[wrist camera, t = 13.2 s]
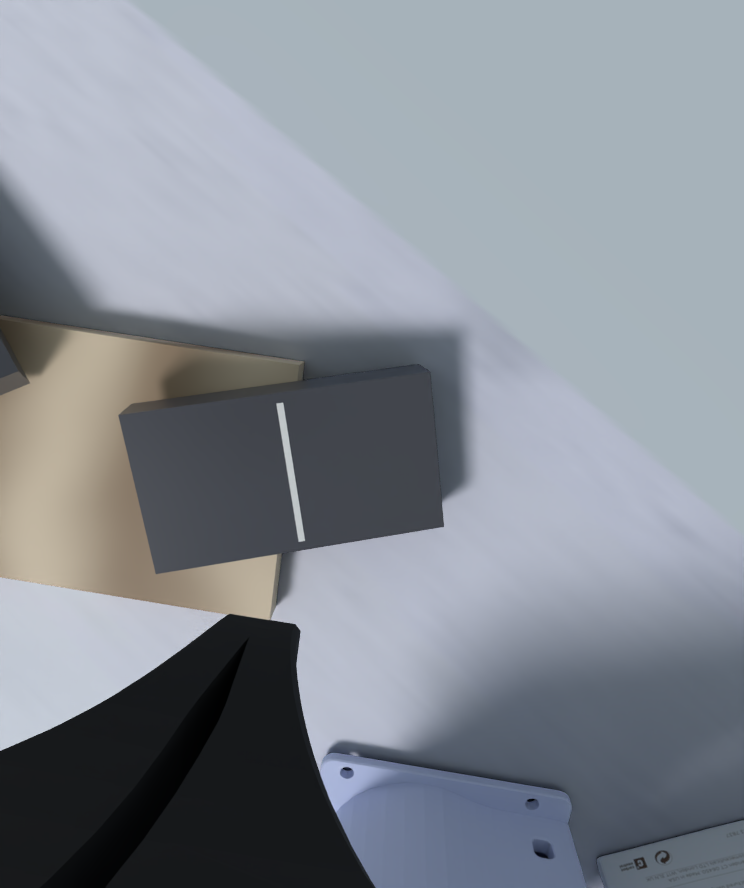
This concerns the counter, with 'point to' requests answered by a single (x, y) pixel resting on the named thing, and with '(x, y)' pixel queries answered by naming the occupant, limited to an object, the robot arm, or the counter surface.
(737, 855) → the supplement box
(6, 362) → the domino
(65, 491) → the board
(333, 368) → the counter surface
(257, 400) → the domino
